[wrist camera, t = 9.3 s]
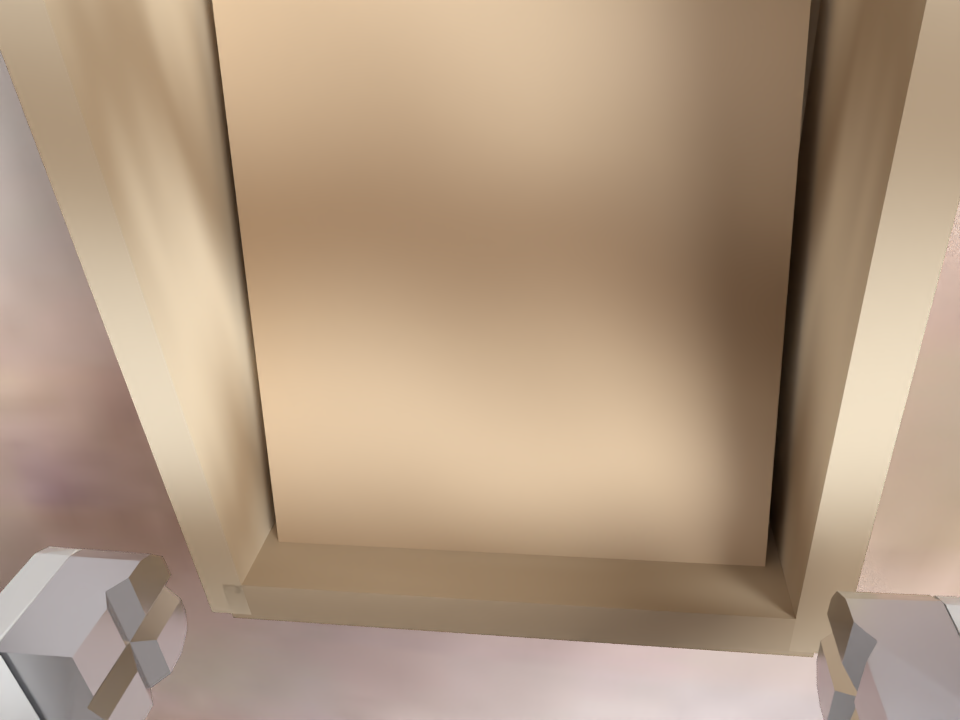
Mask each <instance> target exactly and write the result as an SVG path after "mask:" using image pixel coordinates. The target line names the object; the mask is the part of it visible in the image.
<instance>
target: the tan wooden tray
mask: <svg viewBox="0 0 960 720" xmlns="http://www.w3.org/2000/svg"><path fill="white" fill-rule="evenodd" d="M0 50H1V53H2V56H3V58H4V61H5V64H6V66H7V69H8V71H9V74H10V77H11V79H12V82H13V85H14V87H15V90H16V93H17V95H18V98H19V101H20V103H21V106H22V109H23V111H24V114H25V117H26V119H27V122H28V125H29V127H30V130H31V132H32V135H33V138H34V140H35V143H36V146H37V148H38V151H39V154H40V156H41V159H42V162H43V164H44V167H45V170H46V172H47V175H48V178H49V180H50V183H51V186H52V188H53V191H54V194H55V196H56V199H57V201H58V204H59V207H60V209H61V212H62V215H63V217H64V220H65V223H66V225H67V228H68V231H69V233H70V236H71V239H72V241H73V244H74V247H75V249H76V252H77V255H78V257H79V260H80V262H81V265H82V268H83V270H84V273H85V276H86V278H87V281H88V284H89V286H90V289H91V292H92V294H93V297H94V300H95V302H96V305H97V308H98V310H99V313H100V316H101V318H102V321H103V324H104V326H105V329H106V331H107V334H108V337H109V339H110V342H111V345H112V347H113V350H114V353H115V355H116V358H117V361H118V363H119V366H120V369H121V371H122V374H123V377H124V379H125V382H126V385H127V387H128V390H129V393H130V395H131V398H132V400H133V403H134V406H135V408H136V411H137V414H138V416H139V419H140V422H141V424H142V427H143V430H144V432H145V435H146V438H147V440H148V443H149V446H150V448H151V451H152V454H153V456H154V459H155V461H156V464H157V467H158V469H159V472H160V475H161V477H162V480H163V483H164V485H165V488H166V491H167V493H168V496H169V499H170V501H171V504H172V507H173V509H174V512H175V515H176V517H177V520H178V523H179V525H180V528H181V530H182V533H183V536H184V538H185V541H186V544H187V546H188V549H189V552H190V554H191V557H192V560H193V562H194V565H195V568H196V570H197V573H198V576H199V578H200V581H201V584H202V586H203V589H204V591H205V594H206V597H207V599H208V602H209V605H210V607H211V610H212V612H218V613H232V615H233V618H248V619H262V620H277V621H292V622H306V623H321V624H335V625H350V626H364V627H379V628H394V629H408V630H423V631H437V632H452V633H467V634H481V635H496V636H510V637H525V638H539V639H554V640H569V641H583V642H598V643H612V644H627V645H642V646H656V647H671V648H685V649H700V650H714V651H729V652H744V653H758V654H773V655H787V656H802V657H813V655H814V653H818V651H819V646H820V641H821V640H822V639H824V638H825V637H826V636H828V635H829V634H831V633H832V629H831V625H830V622H829V619H828V615H827V612H828V608H829V604H830V601H831V598H832V596H833V595H834V594H835V593H836V591H851V592H856V589H857V585H858V582H859V578H860V574H861V570H862V566H863V563H864V559H865V555H866V551H867V548H868V544H869V540H870V536H871V533H872V529H873V525H874V521H875V517H876V514H877V510H878V506H879V502H880V499H881V495H882V491H883V487H884V483H885V480H886V476H887V472H888V468H889V465H890V461H891V457H892V453H893V450H894V446H895V442H896V438H897V434H898V431H899V427H900V423H901V419H902V416H903V412H904V408H905V404H906V400H907V397H908V393H909V389H910V385H911V382H912V378H913V374H914V370H915V367H916V363H917V359H918V355H919V351H920V348H921V344H922V340H923V336H924V333H925V329H926V325H927V321H928V317H929V314H930V310H931V306H932V302H933V299H934V295H935V291H936V287H937V284H938V280H939V276H940V272H941V268H942V265H943V261H944V257H945V253H946V250H947V246H948V242H949V238H950V234H951V231H952V227H953V223H954V219H955V216H956V212H957V208H958V204H959V201H960V0H0Z"/></svg>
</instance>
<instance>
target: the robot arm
mask: <svg viewBox="0 0 960 720" xmlns="http://www.w3.org/2000/svg"><path fill="white" fill-rule="evenodd" d="M170 576H171V573H170V571H169V569H168V567H167V565H166V563H165V561H164V558H163V556H158V555H153V554H143V553H131V552H119V551H107V550H95V549H77V548H64V547H51V546H49V547H47V548H45V549H43V550H41V551H39V552H37V553H35V554H34V555H33V556H32V557H31V559H30V560H29V561H28V562H27V563H26V564H25V565H24V567H23V568H22V569H21V570H20V571H19V572H18V573H17V575H16V576H15V577H14V578H13V579H12V580H11V581H10V582H9V584H8V585H7V586H6V587H5V588H4V589H3V590H2V592H1V593H0V720H145V719H146V717H147V715H148V713H149V711H150V710H151V708H152V706H153V700H152V692H151V687H153V686H154V685H155V684H157V683H158V682H160V681H161V680H162V679H164V678H165V677H166V676H168V675H169V674H170V673H171V672H172V670H173V668H174V666H175V665H176V663H177V661H178V659H179V657H180V655H181V653H182V650H183V646H184V641H185V637H186V633H187V619H186V611H185V608H184V606H183V603H182V601H181V599H180V598H179V597H178V596H177V595H175V594H174V593H173V592H172V591H171V590H169V589H168V588H167V587H166V586H165V585H166V583H167V582H168V580H169V578H170ZM827 615H828V619H829V622H830V625H831V629H832V633H831V634H829V635H828V636H826V637H825V638H824V639H822V640H821V641H820V646H819V651H818V656H817V690H818V696H819V703H820V707H821V711H822V715H823V719H824V720H960V597H952V596H933V597H932V596H930V595H919V594H896V593H873V592H851V591H836V593H835V594H834V595H833V596H832V598H831V601H830V604H829V608H828V612H827Z"/></svg>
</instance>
